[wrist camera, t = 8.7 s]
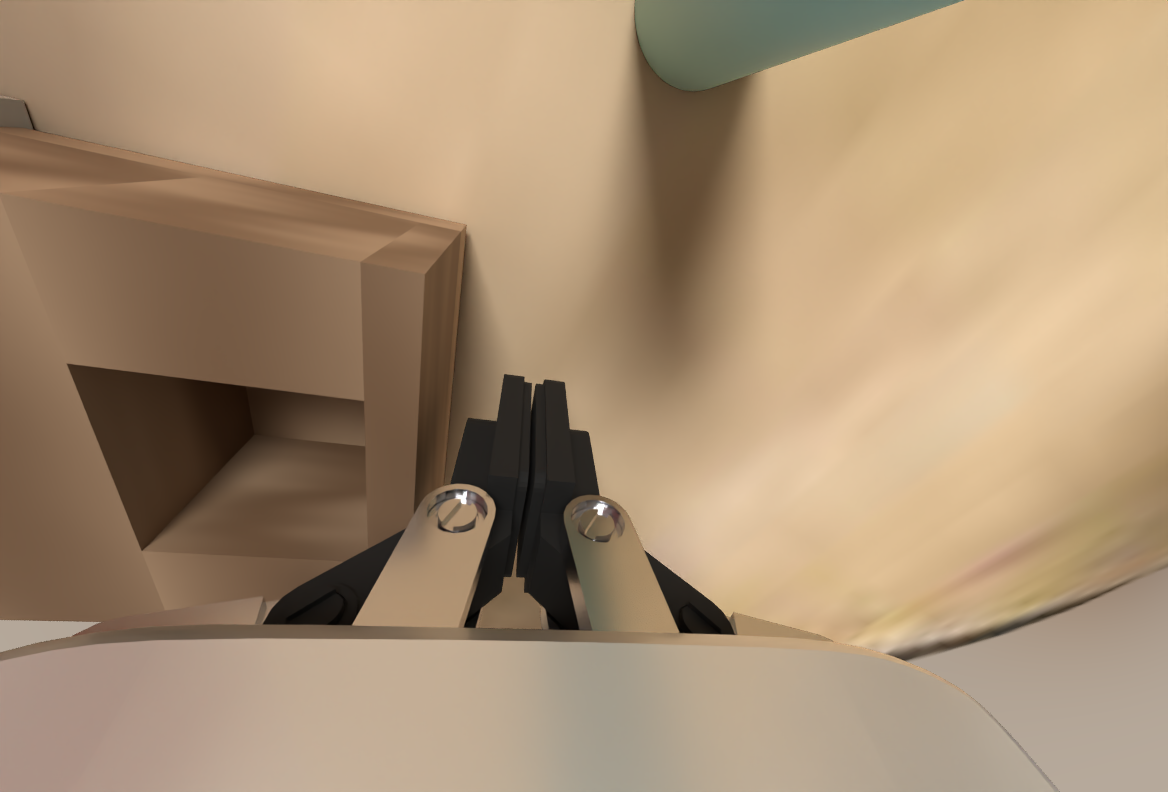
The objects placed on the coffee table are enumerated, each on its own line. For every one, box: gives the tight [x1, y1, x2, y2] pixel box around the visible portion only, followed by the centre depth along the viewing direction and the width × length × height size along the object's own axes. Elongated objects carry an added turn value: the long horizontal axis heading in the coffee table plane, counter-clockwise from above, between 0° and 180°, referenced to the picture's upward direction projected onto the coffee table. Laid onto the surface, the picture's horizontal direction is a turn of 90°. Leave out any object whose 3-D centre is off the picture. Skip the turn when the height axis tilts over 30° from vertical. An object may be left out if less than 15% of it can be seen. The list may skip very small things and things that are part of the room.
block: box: [0, 127, 467, 622], centre depth 10 cm, size 9×9×5 cm
